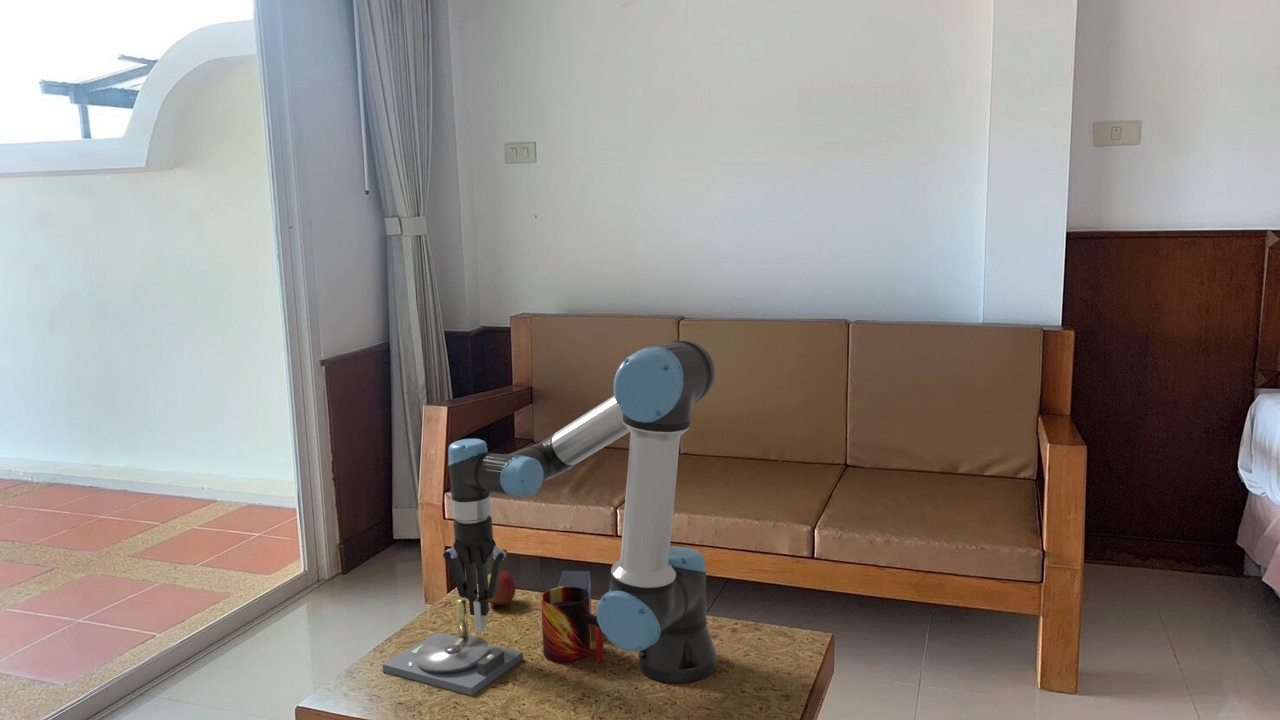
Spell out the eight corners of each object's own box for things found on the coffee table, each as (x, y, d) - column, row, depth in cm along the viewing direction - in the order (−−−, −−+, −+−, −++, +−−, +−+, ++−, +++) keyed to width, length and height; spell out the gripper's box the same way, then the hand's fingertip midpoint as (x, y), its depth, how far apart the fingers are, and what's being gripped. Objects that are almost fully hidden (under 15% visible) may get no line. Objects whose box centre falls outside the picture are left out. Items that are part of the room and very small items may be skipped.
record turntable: (522, 659, 185) (521, 639, 184) (471, 695, 171) (470, 674, 170) (437, 638, 195) (436, 620, 195) (383, 671, 181) (381, 651, 181)
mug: (602, 668, 180) (600, 609, 178) (536, 661, 184) (533, 603, 182) (617, 646, 189) (615, 590, 187) (554, 640, 193) (551, 585, 191)
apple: (521, 598, 215) (519, 565, 214) (509, 612, 207) (508, 578, 206) (490, 597, 217) (488, 564, 215) (477, 611, 209) (475, 577, 208)
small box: (589, 635, 194) (587, 588, 193) (558, 636, 194) (556, 589, 193) (592, 615, 205) (590, 569, 203) (563, 615, 205) (561, 570, 203)
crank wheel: (498, 642, 188) (496, 598, 187) (473, 674, 175) (470, 628, 173) (434, 638, 191) (431, 595, 189) (404, 670, 177) (401, 624, 176)
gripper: (509, 511, 186) (516, 622, 189) (449, 510, 188) (458, 620, 192) (496, 524, 179) (504, 639, 182) (434, 522, 181) (444, 636, 185)
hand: (480, 629), depth 187 cm, fingers closed
